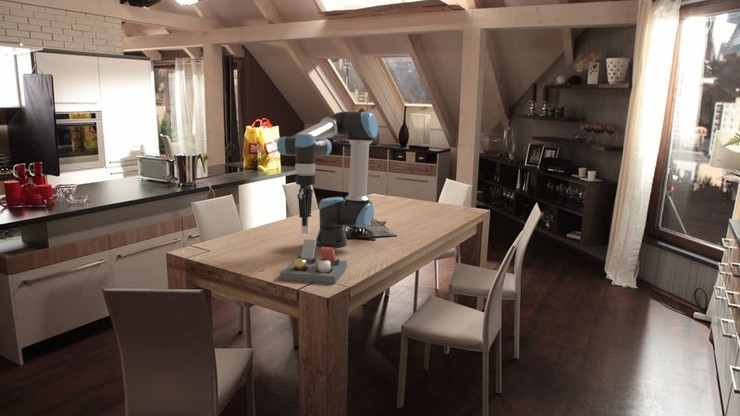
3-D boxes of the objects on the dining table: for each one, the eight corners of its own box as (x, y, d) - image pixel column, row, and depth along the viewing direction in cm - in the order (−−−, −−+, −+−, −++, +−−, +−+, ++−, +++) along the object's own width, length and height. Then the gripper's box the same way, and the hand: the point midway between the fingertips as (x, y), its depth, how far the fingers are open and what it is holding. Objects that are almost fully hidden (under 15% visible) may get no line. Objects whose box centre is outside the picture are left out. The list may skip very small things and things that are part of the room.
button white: (319, 268, 201) (319, 259, 201) (331, 268, 201) (331, 260, 200) (316, 272, 197) (316, 263, 196) (328, 272, 196) (328, 264, 195)
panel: (297, 264, 215) (296, 253, 214) (347, 267, 212) (347, 256, 211) (280, 279, 196) (280, 267, 195) (335, 283, 192) (335, 271, 191)
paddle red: (325, 260, 209) (321, 246, 202) (336, 261, 208) (333, 247, 201) (324, 263, 208) (320, 249, 201) (335, 264, 207) (332, 250, 200)
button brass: (296, 266, 203) (295, 258, 202) (307, 267, 202) (307, 258, 202) (291, 270, 198) (291, 261, 198) (304, 271, 197) (304, 262, 197)
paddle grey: (301, 261, 210) (305, 240, 213) (312, 262, 209) (316, 241, 212) (300, 260, 208) (304, 239, 212) (311, 261, 207) (315, 240, 211)
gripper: (301, 171, 201) (301, 229, 206) (290, 175, 189) (291, 236, 193) (319, 172, 200) (318, 230, 205) (309, 176, 188) (309, 237, 192)
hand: (305, 233), depth 199 cm, fingers closed
